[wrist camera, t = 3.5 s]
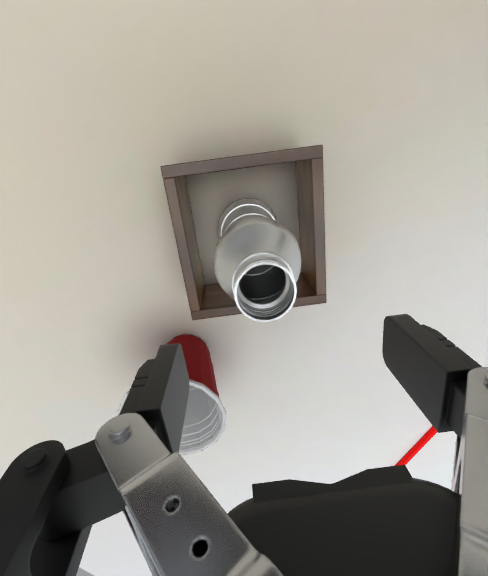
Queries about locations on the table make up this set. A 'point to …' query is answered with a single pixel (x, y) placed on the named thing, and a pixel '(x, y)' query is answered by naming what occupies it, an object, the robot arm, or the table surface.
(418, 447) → the pen
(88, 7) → the table surface
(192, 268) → the wooden box
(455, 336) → the table surface
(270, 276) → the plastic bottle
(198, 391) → the plastic cup
